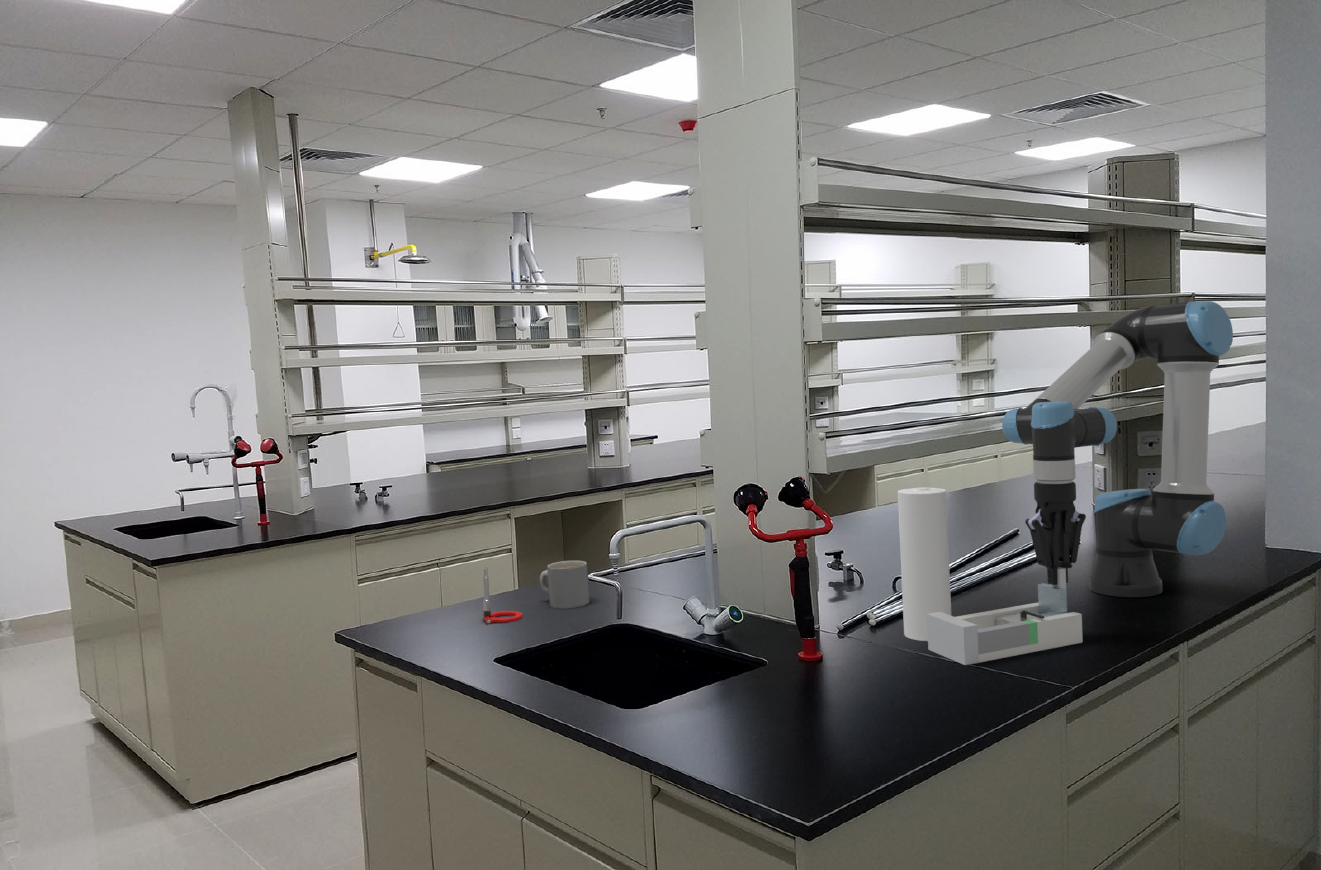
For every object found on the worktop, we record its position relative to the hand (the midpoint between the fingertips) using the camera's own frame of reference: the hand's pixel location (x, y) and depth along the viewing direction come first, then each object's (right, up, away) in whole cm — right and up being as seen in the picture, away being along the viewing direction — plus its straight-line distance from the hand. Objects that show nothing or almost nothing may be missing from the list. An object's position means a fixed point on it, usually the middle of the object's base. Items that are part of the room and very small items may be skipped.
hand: (1058, 600), depth 181 cm
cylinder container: (-24, -8, +7) cm, 26 cm away
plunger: (-7, -6, -3) cm, 10 cm away
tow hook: (-116, -12, +41) cm, 124 cm away
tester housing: (-12, -8, -4) cm, 15 cm away
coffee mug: (-102, -10, +54) cm, 116 cm away
